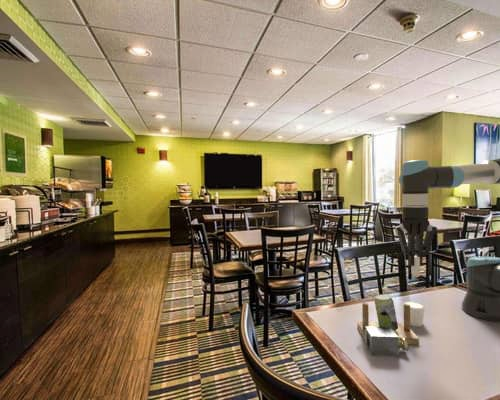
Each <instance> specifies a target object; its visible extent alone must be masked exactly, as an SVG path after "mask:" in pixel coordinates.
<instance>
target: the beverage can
mask: <svg viewBox="0 0 500 400" xmlns="http://www.w3.org/2000/svg"><path fill="white" fill-rule="evenodd" d="M374 305H375V310H376V317H377V322H379V327H391V328H392V330H393V331H395V330H397V329H398V324H397V323H398V320H397V315H396V309H395V304H394V300H393V298H392V297H391V296H390V294H377V295H376V296H375V298H374Z"/></svg>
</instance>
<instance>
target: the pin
mask: <svg viewBox="0 0 500 400" xmlns="http://www.w3.org/2000/svg"><path fill="white" fill-rule="evenodd" d="M398 348H399V349H401V350H402V351H404V352H407V351H409V350H408V349H409V344H407V341H406V339H405V338H400V340H398Z"/></svg>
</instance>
